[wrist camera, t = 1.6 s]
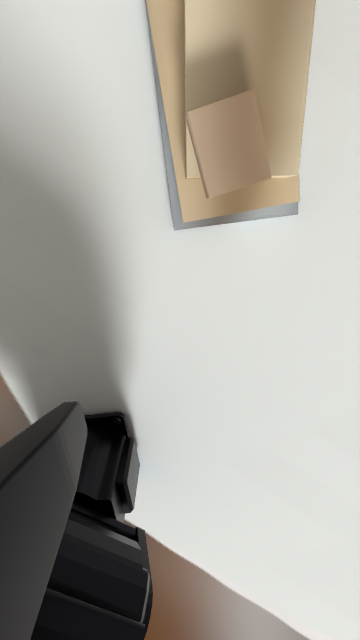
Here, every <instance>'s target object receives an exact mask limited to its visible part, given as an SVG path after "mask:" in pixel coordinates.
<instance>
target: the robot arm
mask: <svg viewBox="0 0 360 640" xmlns="http://www.w3.org/2000/svg"><path fill="white" fill-rule="evenodd" d="M117 418H119V419H120V421H117V420H116V419H117ZM139 467H140V463H139V458H138V454H137V449H136V444H135V440H134V439H133V438H132V437H130V436H129V431H128V427H127V422H126V418H125V415H124V414H123V413H121V412H114V413H105V414H96V415H87V416H84V414H83V410H82V406H81V404H80V403H79V402H78V401H74V402H64V403H62V404H60V405H59V406H58V407H56V408H55V409H53V410H52V411H51V412H49V413H48V414H46V415H45V416H43V417H42V418H41V419H39V420H38V421H36V422H35V423H34V424H32V425H31V426H30V427H28V428H26V429H25V430H24V431H22V432H21V433H20V434H18V435H17V436H15V437H14V438H13V439H11V440H10V441H8V442H7V443H5V444H4V445H3V446H1V447H0V640H144V638H145V635H146V632H147V628H148V624H149V620H150V615H151V608H152V597H153V591H152V580H151V573H150V566H149V558H148V551H147V544H146V537H145V530H143V529H141V528H138V527H136V528H134V527H131V526H129V525H127V524H124V517H125V513H131V512H132V510H133V509H134V503H135V496H136V489H137V481H138V474H139Z"/></svg>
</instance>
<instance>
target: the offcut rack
mask: <svg viewBox="0 0 360 640" xmlns="http://www.w3.org/2000/svg"><path fill="white" fill-rule="evenodd" d="M145 1H146V9H147V17H148V25H149V33H150V41H151V49H152V57H153V65H154V73H155V81H156V89H157V97H158V105H159V113H160V121H161V129H162V137H163V145H164V153H165V161H166V169H167V177H168V185H169V193H170V201H171V209H172V217H173V225H174V230H180V229H188V228H196V227H203V226H211V225H219V224H227V223H235V222H242V221H250V220H258V219H266V218H274V217H281V216H289V215H297V214H298V202H299V201H300V191H299V164H300V154H301V144H302V134H303V124H304V114H305V104H306V94H307V84H308V74H309V64H310V54H311V44H312V34H313V24H314V14H315V4H316V0H145Z"/></svg>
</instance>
